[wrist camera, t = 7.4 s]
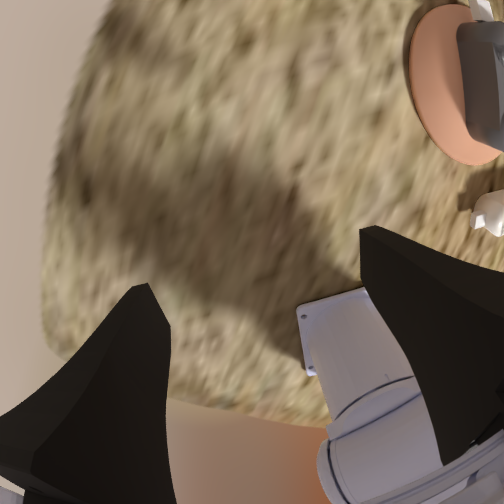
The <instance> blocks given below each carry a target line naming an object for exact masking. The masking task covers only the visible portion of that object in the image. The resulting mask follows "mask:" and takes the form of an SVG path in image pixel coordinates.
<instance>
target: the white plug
mask: <svg viewBox="0 0 504 504" xmlns="http://www.w3.org/2000/svg"><path fill="white" fill-rule="evenodd" d="M470 226H471V227H472V228H474V229H477V228H480V227H485V228H486V229H487V230H489V231H490V232H491V233H493V234H494V235H495V236H497V237H499V236H502V235H504V189H502V190H498V191H494V192H490V193H487V194H483V195H482V196H480V197H479V199H478V200H477V202H476V204H475V206H474V211H473V212H472V213H471V220H470Z"/></svg>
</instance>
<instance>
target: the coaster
mask: <svg viewBox="0 0 504 504" xmlns="http://www.w3.org/2000/svg"><path fill="white" fill-rule="evenodd" d="M466 22H477V21H474V20H473V17H472V13H471V9H470V8H468V7H466V6H462V5H457V4H448V5H443V6H438V7H436V8H434V9H431V10H430V11H429V12H427V13H426V14H425V15H424V16H423V17H422V18H421V20H420V21H419V23H418V25H417V26H416V28H415V31H414V33H413V36H412V40H411V45H410V51H409V78H410V85H411V91H412V96H413V99H414V103H415V107H416V109H417V112H418V115H419V117H420V120H421V122H422V124H423V126H424V128H425V130H426V131H427V133H428V135H429V136H430V138H431V139H432V140H433V142H434V143H435V144H436V145H437V146H438V148H439V149H440V150H441V151H442V152H444V153H445V154H446V155H448V156H449V157H451V158H453V159H454V160H456V161H459V162H461V163H464V164H467V165H482V164H485V163H488V162H490V161H492V160H493V159H494V158H496V157H497V156H498V155H499V154H500V153H501V152H502V151H500V150H497V149H495V148H492V147H490V146H488V145H485V144H482V143H480V142H477V141H475V140H474V139H472V137H471V136H470V135H469V133H468V130H467V127H466V118H465V102H464V90H463V80H462V72H461V65H460V58H459V52H458V46H457V40H456V32H457V28H458V26H459V25H460V24H461V23H466Z"/></svg>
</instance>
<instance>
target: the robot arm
mask: <svg viewBox="0 0 504 504" xmlns="http://www.w3.org/2000/svg"><path fill="white" fill-rule="evenodd" d="M359 235H360V277H361V280H362V283H363V285H364V287H362V288H359V289H355V290H352V291H349V292H345V293H342V294H338V295H335V296H332V297H328V298H324V299H321V300H317V301H314V302H310V303H306V304H303V305H300V306H298V307H297V309H296V314H297V319H298V325H299V331H300V337H301V343H302V349H303V355H304V361H305V368H306V373H307V375H308V376H313V375H318V378H319V381H320V384H321V387H322V390H323V394H324V397H325V400H326V403H327V406H328V409H329V412H330V415H331V418H332V423H330V424H328V425H326V429H327V433H328V436H329V438H328V439H326V440H324V441H323V442H322V443H321V446H320V449H319V453H318V456H317V470H318V475H319V479H320V482H321V485H322V487H323V489H324V492H325V494H326V495H327V497H328V499H329V500H330V501H331V503H332V504H504V273H503V272H499V271H495V270H491V269H487V268H484V267H480V266H477V265H474V264H471V263H468V262H465V261H462V260H459V259H456V258H453V257H451V256H448V255H446V254H443V253H441V252H438V251H436V250H433V249H431V248H429V247H426V246H424V245H422V244H420V243H417V242H415V241H413V240H410V239H408V238H406V237H404V236H401V235H399V234H397V233H395V232H392V231H390V230H387V229H385V228H382V227H379V226H376V225H374V226H371V227H367V228H363V229H359ZM304 314H305V315H304ZM302 315H304V316H302ZM170 358H171V329H170V324H169V322H168V321H167V319H166V317H165V315H164V313H163V311H162V309H161V307H160V306H159V304H158V302H157V300H156V298H155V296H154V294H153V292H152V290H151V288H150V286H149V284H148V283H145V284H141V285H137V286H132V287H131V288H130V289H129V290H128V291H127V292H126V293H125V295H124V296H123V297H122V298H121V299H120V300H119V302H118V303H117V304H116V305H115V307H114V308H113V309H112V310H111V311H110V313H109V314H108V315H107V316H106V318H105V319H104V320H103V321H102V323H101V324H100V325H99V326H98V328H97V329H96V330H95V331H94V332H93V334H92V335H91V336H90V337H89V338H88V339H87V341H86V342H85V343H84V344H83V345H82V347H81V348H80V349H79V350H78V351H77V352H76V353H75V354H74V356H73V357H72V358H71V359H70V360H69V361H68V362H67V363H66V364H65V365H64V366H63V367H62V368H61V369H60V370H59V371H58V372H57V373H56V374H55V375H54V376H52V377H51V378H50V379H49V380H48V381H47V382H46V383H45V384H44V385H42V386H41V387H40V388H39V389H38V390H37V391H36V392H35V393H33V394H32V395H31V396H29V397H28V398H27V399H26V400H24V401H23V402H21V403H20V404H19V405H17V406H16V407H15V408H13V409H12V410H10V411H9V412H7V413H6V414H4V415H2V416H0V475H1V476H2V477H4V478H5V479H7V480H9V481H10V482H12V483H14V484H15V485H17V486H19V487H21V488H23V489H24V490H25V493H24V496H22V495H20V494H18V493H15V492H13V491H11V490H8V489H5V488H3V487H1V486H0V504H177V503H176V498H175V494H174V489H173V484H172V478H171V472H170V466H169V458H168V448H167V435H166V416H165V415H166V399H167V388H168V378H169V368H170Z"/></svg>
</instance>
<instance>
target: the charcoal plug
mask: <svg viewBox="0 0 504 504" xmlns="http://www.w3.org/2000/svg"><path fill="white" fill-rule="evenodd" d="M468 2H469V6H470V9H471V13H472V17H473V20H474V21H477V22H466V23H461V24H460V25H459V26H458V28H457V32H456V40H457V46H458V52H459V58H460V65H461V72H462V80H463V90H464V102H465V118H466V127H467V130H468V133H469V135H470V136H471V137H472V139H474V140H475V141H477V142H480V143H482V144H485V145H488V146H490V147H492V148H495V149H497V150H500V151H502V152H504V23H503V22H501V21H494V19H493V15H492V11H491V7H490V3H489V2H488V1H486V0H468Z"/></svg>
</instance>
